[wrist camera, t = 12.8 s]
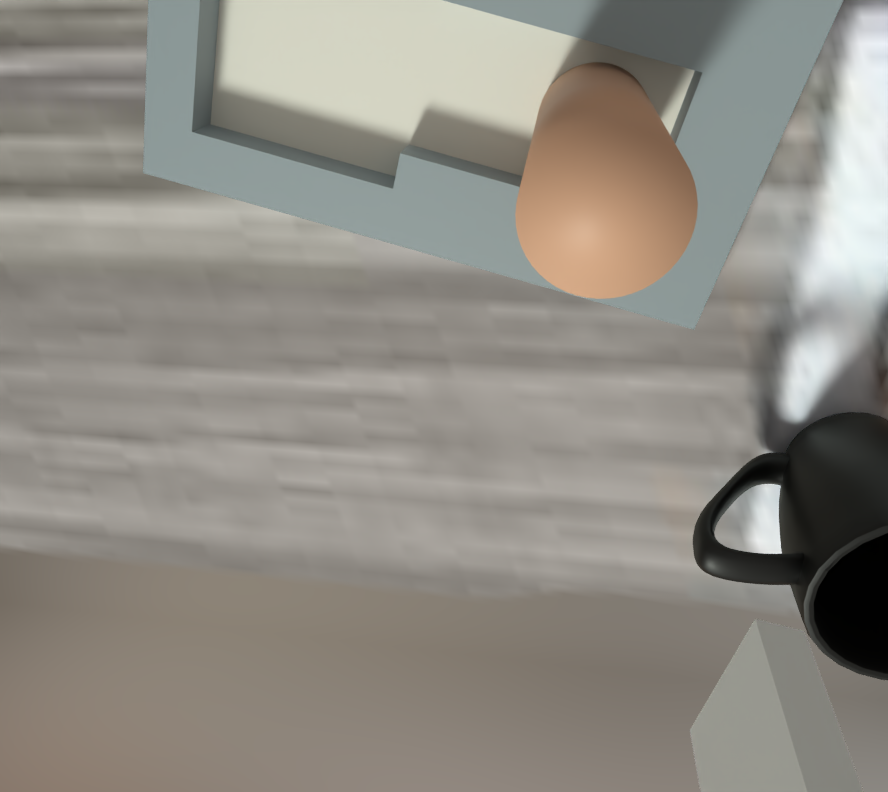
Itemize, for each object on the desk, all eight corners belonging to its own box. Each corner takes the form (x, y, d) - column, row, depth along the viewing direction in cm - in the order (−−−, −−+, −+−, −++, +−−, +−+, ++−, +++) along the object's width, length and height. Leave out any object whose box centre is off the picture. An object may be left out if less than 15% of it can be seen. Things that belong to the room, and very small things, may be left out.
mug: (697, 361, 35) (734, 481, 27) (972, 400, 34) (1099, 538, 25) (657, 503, 39) (678, 645, 31) (901, 542, 38) (990, 701, 30)
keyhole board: (169, 160, 34) (143, 173, 32) (186, -195, 27) (154, -208, 25) (687, 307, 34) (694, 329, 32) (830, -18, 27) (851, -17, 25)
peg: (523, 163, 31) (495, 273, 20) (556, 48, 29) (545, 100, 18) (627, 192, 31) (658, 318, 20) (668, 79, 29) (727, 150, 18)
